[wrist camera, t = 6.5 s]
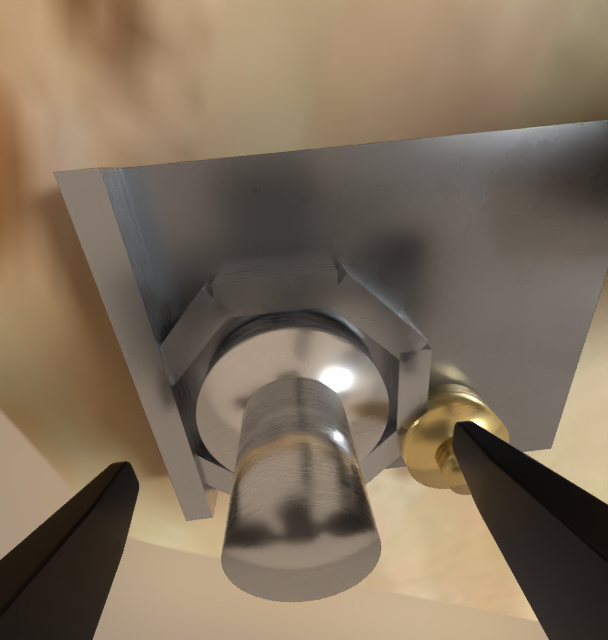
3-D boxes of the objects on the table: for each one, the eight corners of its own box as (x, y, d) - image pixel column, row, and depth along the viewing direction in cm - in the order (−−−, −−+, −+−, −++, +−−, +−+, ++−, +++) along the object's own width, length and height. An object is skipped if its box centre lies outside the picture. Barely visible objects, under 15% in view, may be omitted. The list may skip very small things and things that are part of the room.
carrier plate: (620, 119, 9) (792, 94, 6) (534, 431, 15) (605, 503, 11) (103, 171, 9) (8, 172, 6) (199, 471, 14) (176, 558, 11)
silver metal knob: (376, 302, 10) (467, 426, 5) (376, 442, 13) (437, 615, 8) (187, 323, 10) (98, 471, 5) (224, 461, 13) (188, 648, 8)
